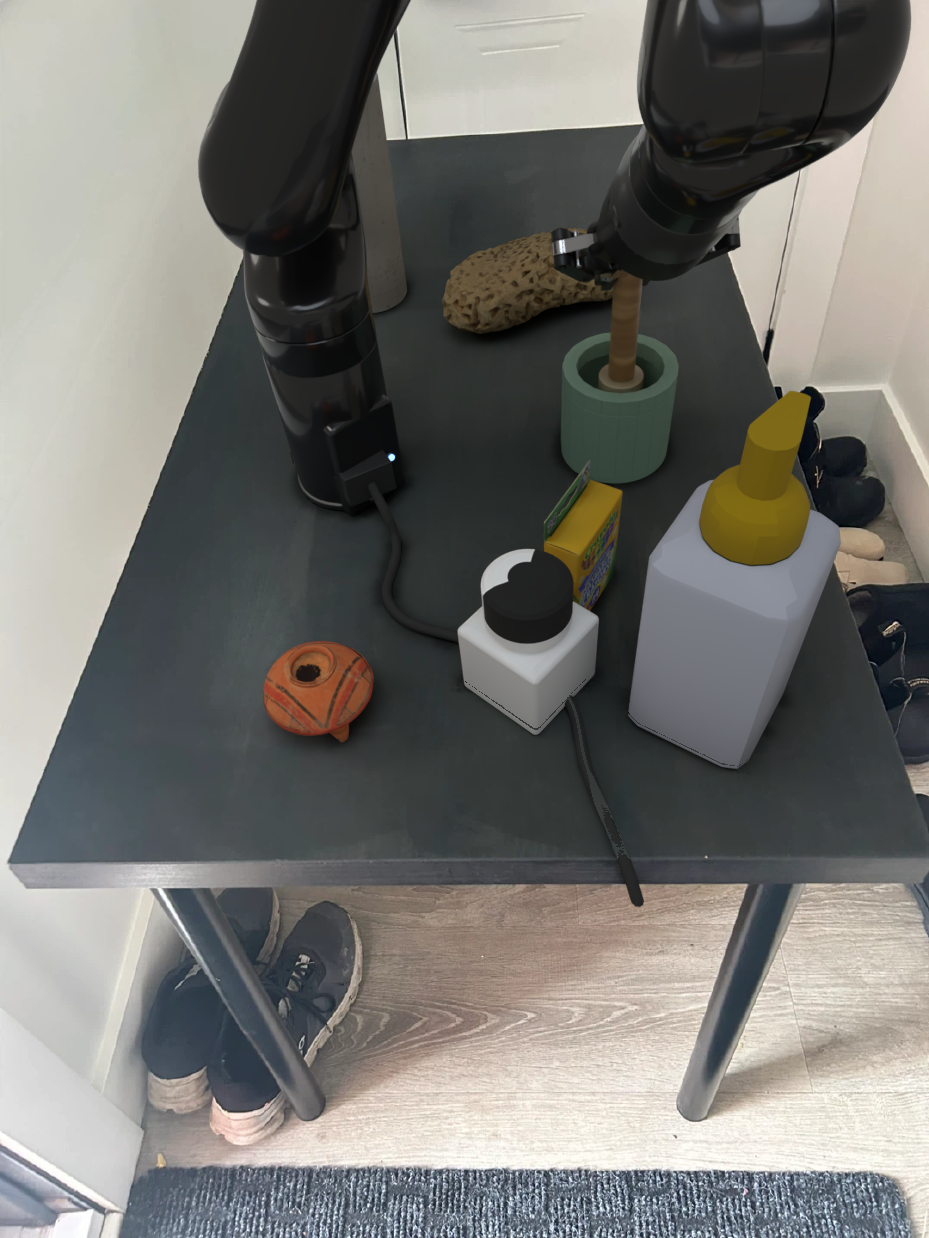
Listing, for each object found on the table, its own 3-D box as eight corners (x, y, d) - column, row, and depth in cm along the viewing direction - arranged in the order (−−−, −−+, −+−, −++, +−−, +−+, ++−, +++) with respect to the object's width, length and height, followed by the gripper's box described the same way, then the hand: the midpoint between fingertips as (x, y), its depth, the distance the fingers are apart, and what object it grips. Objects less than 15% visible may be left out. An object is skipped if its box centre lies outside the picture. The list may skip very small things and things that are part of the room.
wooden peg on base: (631, 439, 77) (648, 257, 64) (590, 429, 79) (598, 249, 65) (644, 412, 79) (663, 231, 66) (604, 404, 81) (614, 224, 67)
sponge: (600, 270, 102) (429, 261, 98) (621, 210, 95) (438, 198, 91) (623, 354, 96) (441, 348, 92) (647, 297, 89) (453, 288, 85)
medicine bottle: (596, 674, 66) (605, 569, 57) (536, 738, 63) (535, 638, 54) (522, 627, 69) (519, 520, 60) (462, 686, 66) (448, 583, 57)
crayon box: (574, 641, 68) (579, 537, 59) (540, 626, 69) (540, 523, 60) (615, 577, 72) (626, 471, 63) (582, 564, 73) (588, 458, 64)
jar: (688, 448, 81) (702, 365, 74) (613, 499, 77) (621, 418, 70) (613, 400, 86) (619, 318, 78) (539, 446, 82) (539, 365, 75)
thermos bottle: (344, 275, 103) (289, -7, 81) (411, 274, 102) (374, -11, 80) (331, 314, 98) (268, 26, 76) (401, 314, 97) (359, 22, 75)
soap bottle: (787, 685, 64) (894, 409, 45) (738, 780, 60) (833, 521, 40) (674, 636, 68) (726, 359, 48) (619, 722, 64) (653, 457, 44)
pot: (271, 771, 63) (245, 702, 59) (282, 696, 69) (258, 629, 65) (383, 756, 62) (364, 686, 58) (383, 682, 69) (366, 614, 64)
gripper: (784, 118, 53) (704, 216, 70) (552, 146, 53) (530, 236, 70) (792, 249, 53) (712, 314, 71) (564, 275, 54) (539, 333, 71)
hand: (621, 275), depth 70 cm, fingers closed on wooden peg on base, 2 cm apart
